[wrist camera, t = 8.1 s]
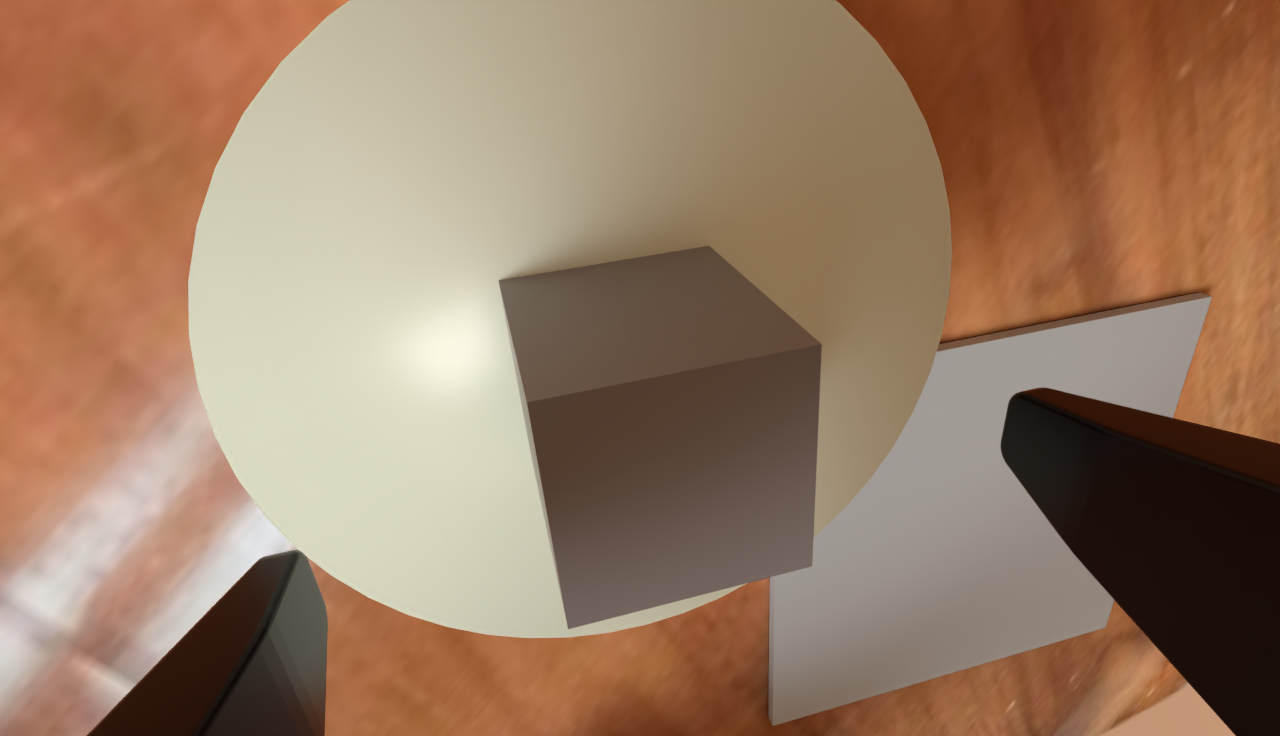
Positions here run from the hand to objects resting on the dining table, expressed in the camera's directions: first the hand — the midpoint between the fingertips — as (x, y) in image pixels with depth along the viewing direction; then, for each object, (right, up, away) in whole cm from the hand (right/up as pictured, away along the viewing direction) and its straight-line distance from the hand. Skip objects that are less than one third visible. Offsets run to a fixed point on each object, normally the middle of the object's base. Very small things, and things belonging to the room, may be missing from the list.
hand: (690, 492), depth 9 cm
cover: (-1, +2, +4) cm, 5 cm away
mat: (+11, -4, +17) cm, 20 cm away
